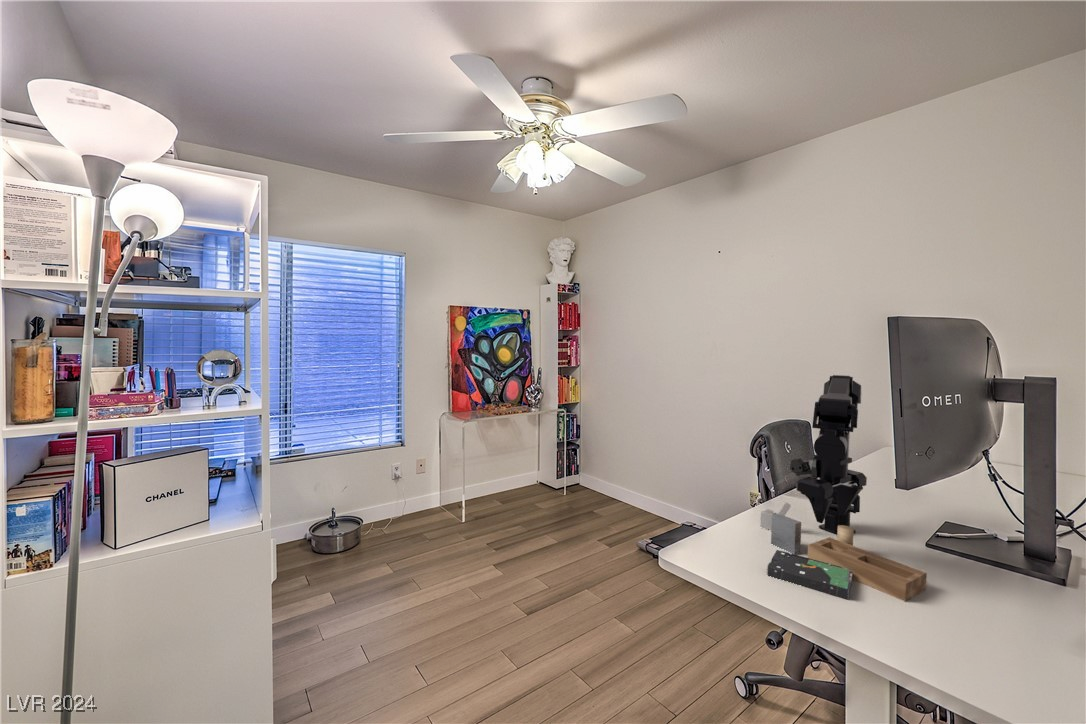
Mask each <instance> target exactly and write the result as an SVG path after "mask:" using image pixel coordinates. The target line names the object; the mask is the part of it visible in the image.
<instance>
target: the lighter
mask: <svg viewBox="0 0 1086 724" xmlns="http://www.w3.org/2000/svg"><path fill="white" fill-rule="evenodd" d="M791 507H792V505H791V504H790V503H789V502H787V501H786V502H785V503H784V505H782V507H781V509H780V510H779V512H778V513H775V511H774V509H772V508H771V509H770V508H765V509H763V510H760V522H759V523H760V524H759V525H760V526H759V527H762V528H765V529H764V530H767V529H770V530H769V531H771V529H772V515H775V514H780V515H783V516H786V514H787V513H788V511H789V510H790V508H791ZM762 528H761V529H762Z"/></svg>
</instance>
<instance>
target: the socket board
mask: <svg viewBox="0 0 1086 724" xmlns="http://www.w3.org/2000/svg"><path fill="white" fill-rule="evenodd" d="M807 558H809V559H813V560H817V561H821V562H825V563H828V564H832V565H836V566H840V567H842V568H845V569H848V570H851V571H852V573H853V578H852V580H853V581H857V582H859V583H861V584H864V585H865V586H869V587H870V588H873V589H876V590H877V591H880V592H882V593H885V594H887V595H889V596H891V597H894V598H896V599H898V600H901V601H903V602H906V601H908V600H910V599H911V598H913V597H915V596H917V595H920V594H921V593H922V591H923V592H924V591H926V590H927V578H928V577H927V574H928V573H927V572H925V571H922V570H920V569H918V568H915V567H911V566H908V565H907V564H905V563H904V564H903V563H901V562H898V561H895V560H892V559H890V558H887V557H884V556H882V555H879V554H876V553H873V552H872V551H868V550H865V549H864V548H860V547H857V546H854V545H853V546H852V545H849V544H847V543H844V542H841V541H839V540H837V538H834V537H831V536H830V537H827V538H823V539H821V540H819V541H814V542H813V543H810V544H808V545H807ZM920 592H921V593H920Z"/></svg>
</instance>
